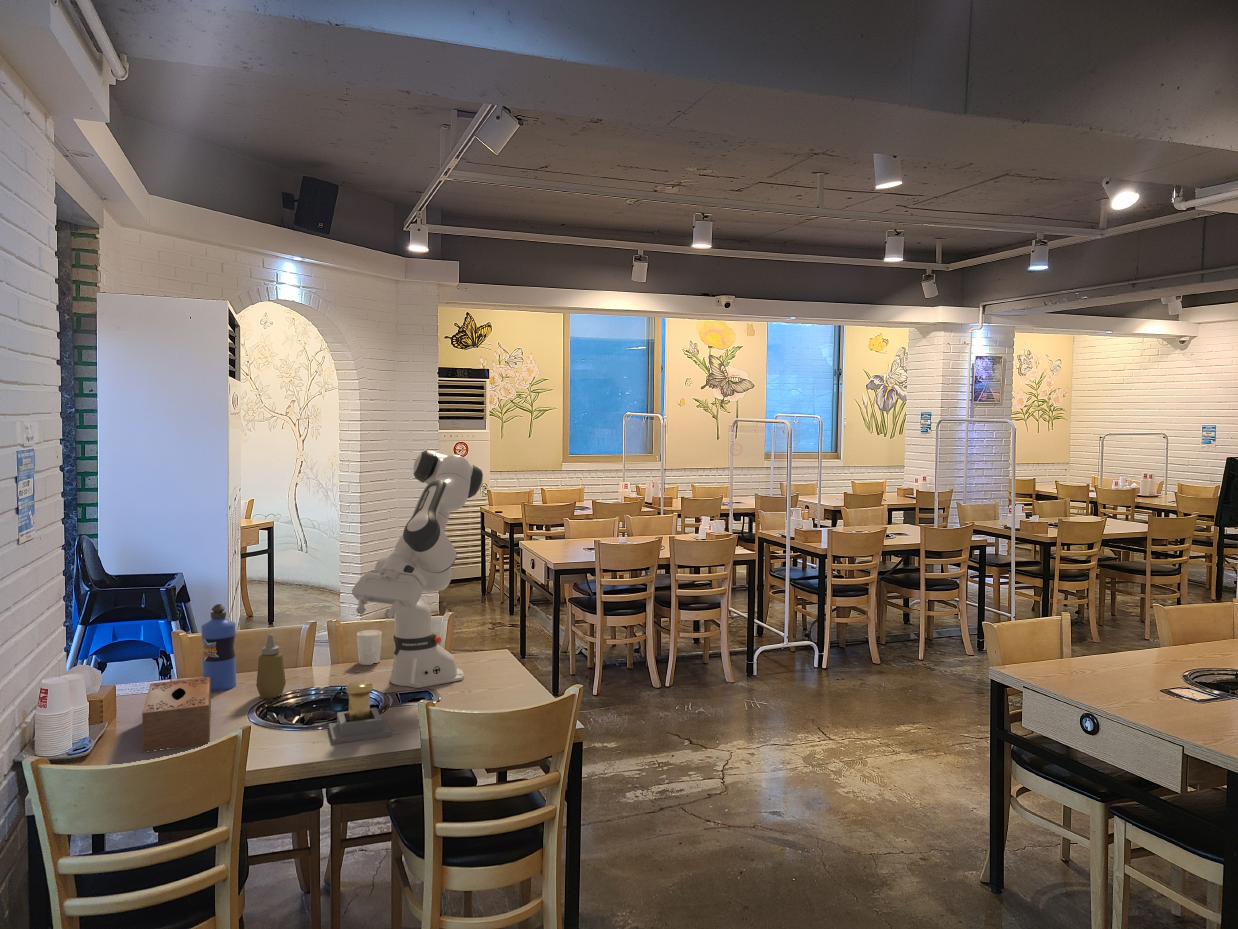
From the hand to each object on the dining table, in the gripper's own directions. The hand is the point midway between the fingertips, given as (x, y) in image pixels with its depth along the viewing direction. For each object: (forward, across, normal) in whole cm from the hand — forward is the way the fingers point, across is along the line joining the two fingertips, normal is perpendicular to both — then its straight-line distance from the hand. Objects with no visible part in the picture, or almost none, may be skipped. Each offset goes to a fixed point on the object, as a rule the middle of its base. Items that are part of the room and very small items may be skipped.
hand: (373, 614), depth 226 cm
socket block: (+26, +3, +15) cm, 30 cm away
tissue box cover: (+40, -40, +3) cm, 57 cm away
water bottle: (+18, -61, +24) cm, 68 cm away
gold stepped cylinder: (+25, +3, +14) cm, 29 cm away
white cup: (-11, -38, +51) cm, 65 cm away
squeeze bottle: (+18, -40, +24) cm, 50 cm away
